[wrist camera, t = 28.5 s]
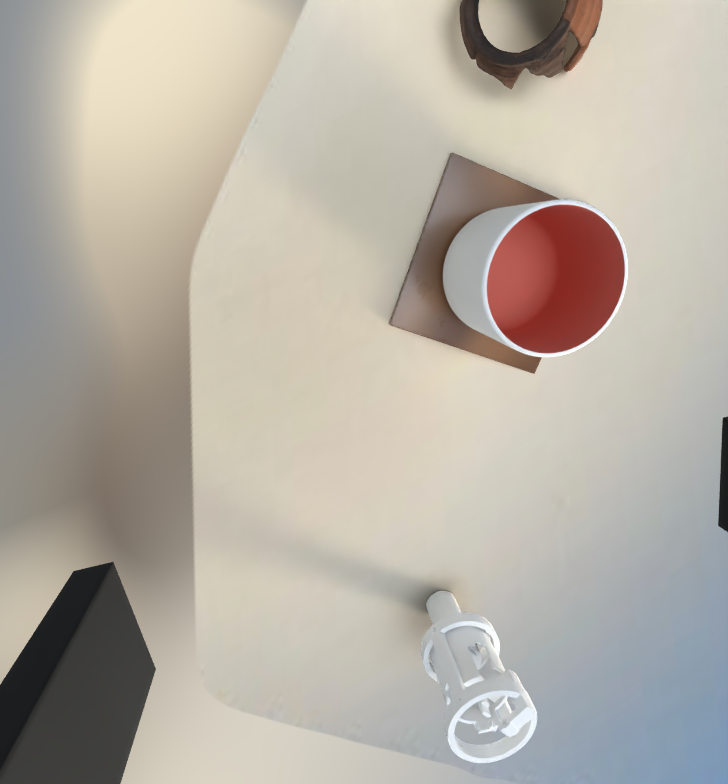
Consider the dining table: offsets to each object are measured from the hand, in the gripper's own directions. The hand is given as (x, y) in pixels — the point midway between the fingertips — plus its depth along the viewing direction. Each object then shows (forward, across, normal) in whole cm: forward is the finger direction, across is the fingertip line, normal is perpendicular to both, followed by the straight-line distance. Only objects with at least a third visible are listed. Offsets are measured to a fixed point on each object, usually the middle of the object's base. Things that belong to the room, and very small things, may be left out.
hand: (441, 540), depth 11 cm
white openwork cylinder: (+33, +5, -31) cm, 45 cm away
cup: (+32, +14, +1) cm, 36 cm away
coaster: (+33, +14, +1) cm, 36 cm away
